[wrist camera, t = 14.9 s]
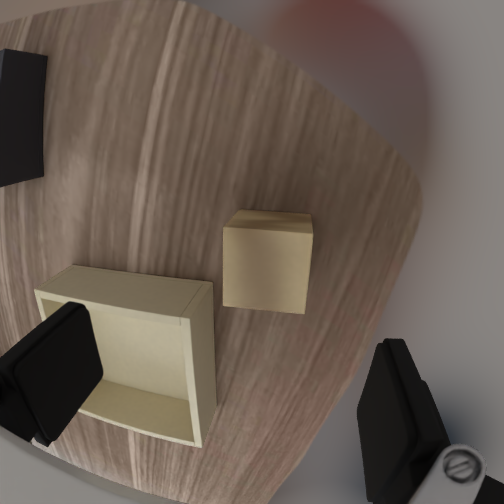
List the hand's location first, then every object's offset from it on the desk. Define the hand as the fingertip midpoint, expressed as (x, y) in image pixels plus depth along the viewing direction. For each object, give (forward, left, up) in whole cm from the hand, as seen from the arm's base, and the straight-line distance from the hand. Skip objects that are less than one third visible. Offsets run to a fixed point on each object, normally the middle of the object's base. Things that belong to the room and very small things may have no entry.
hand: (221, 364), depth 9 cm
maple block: (-1, 0, -12) cm, 12 cm away
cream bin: (+9, +9, -12) cm, 18 cm away
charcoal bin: (+23, -10, -12) cm, 28 cm away
